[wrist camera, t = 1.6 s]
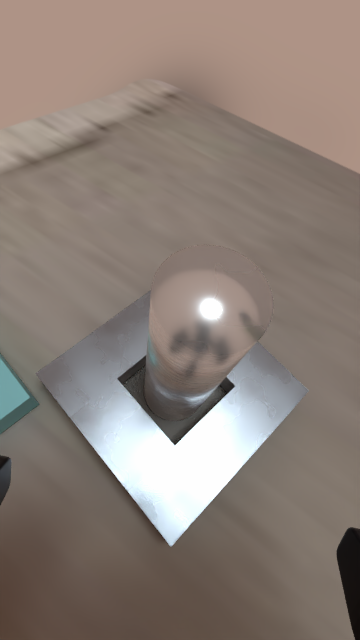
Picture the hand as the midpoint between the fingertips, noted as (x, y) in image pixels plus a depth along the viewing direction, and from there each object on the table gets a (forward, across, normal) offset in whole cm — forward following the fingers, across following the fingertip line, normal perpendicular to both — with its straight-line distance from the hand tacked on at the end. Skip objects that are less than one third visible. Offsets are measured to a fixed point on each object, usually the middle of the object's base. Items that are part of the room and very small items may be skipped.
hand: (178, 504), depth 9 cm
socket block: (+13, 0, +4) cm, 14 cm away
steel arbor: (+13, 0, +4) cm, 14 cm away
